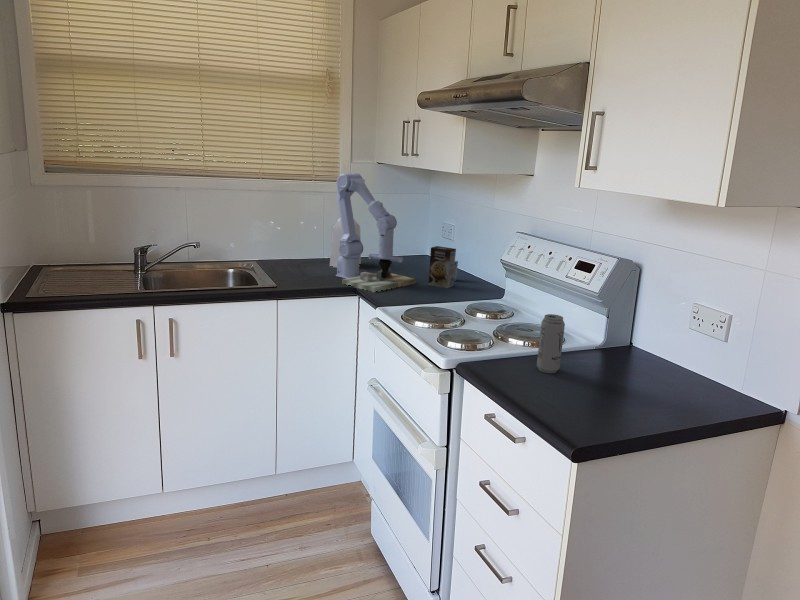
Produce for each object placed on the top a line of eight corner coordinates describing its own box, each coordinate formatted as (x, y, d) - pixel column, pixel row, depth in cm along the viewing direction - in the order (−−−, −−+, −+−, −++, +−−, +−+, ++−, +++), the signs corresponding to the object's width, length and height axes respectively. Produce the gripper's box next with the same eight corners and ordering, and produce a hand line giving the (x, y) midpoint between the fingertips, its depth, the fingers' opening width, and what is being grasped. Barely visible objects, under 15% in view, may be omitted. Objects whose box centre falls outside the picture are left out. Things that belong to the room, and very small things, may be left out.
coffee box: (427, 285, 254) (430, 247, 250) (434, 282, 260) (436, 245, 256) (447, 288, 250) (450, 250, 246) (453, 285, 256) (456, 248, 252)
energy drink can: (555, 375, 160) (562, 321, 156) (533, 370, 162) (539, 317, 159) (561, 369, 165) (568, 316, 161) (540, 364, 168) (545, 312, 164)
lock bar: (384, 273, 260) (385, 266, 260) (391, 274, 259) (392, 267, 259) (375, 278, 250) (375, 271, 249) (382, 279, 249) (382, 272, 248)
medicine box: (437, 280, 265) (438, 260, 263) (439, 278, 269) (440, 258, 267) (455, 281, 263) (456, 262, 261) (456, 279, 268) (458, 260, 265)
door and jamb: (342, 284, 249) (342, 272, 248) (384, 276, 268) (384, 264, 267) (373, 292, 238) (374, 280, 237) (415, 283, 256) (415, 272, 255)
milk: (353, 268, 279) (354, 212, 273) (329, 266, 282) (330, 210, 275) (360, 264, 291) (362, 210, 284) (338, 262, 293) (339, 208, 287)
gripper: (365, 244, 246) (365, 277, 250) (398, 248, 241) (397, 281, 245) (372, 242, 253) (372, 274, 256) (405, 245, 248) (403, 278, 251)
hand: (384, 277), depth 251 cm, fingers closed
